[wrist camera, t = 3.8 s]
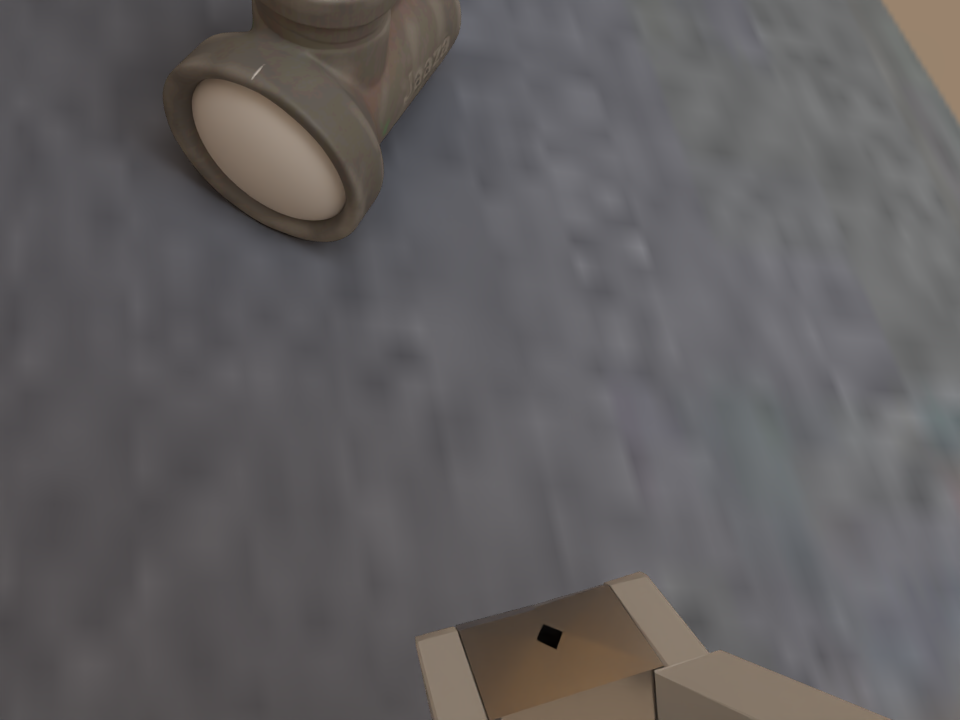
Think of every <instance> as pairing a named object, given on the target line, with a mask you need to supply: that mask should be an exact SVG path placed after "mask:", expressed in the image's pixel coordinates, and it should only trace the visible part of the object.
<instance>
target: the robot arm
mask: <svg viewBox="0 0 960 720" xmlns="http://www.w3.org/2000/svg"><path fill="white" fill-rule="evenodd" d="M415 641H416V648H417V653H418V658H419V662H420V667H421V672H422V676H423V681H424V686H425V690H426V695H427V700H428V704H429V709H430V714H431V718H432V720H891V719H889V718H886V717H884V716H881V715H879V714H876V713H874V712H871V711H869V710H867V709H864V708H862V707H859V706H857V705H854V704H852V703H849V702H847V701H844V700H842V699H840V698H837V697H835V696H832V695H830V694H827V693H825V692H822V691H820V690H817V689H815V688H813V687H810V686H808V685H805V684H803V683H800V682H798V681H795V680H793V679H791V678H788V677H786V676H783V675H781V674H778V673H776V672H773V671H771V670H768V669H766V668H764V667H761V666H759V665H756V664H754V663H751V662H749V661H746V660H744V659H741V658H739V657H737V656H734V655H732V654H729V653H727V652H724V651H722V650H719V651H715V652H712V653H709V652H708V651H707V650H706V648H705V647H704V646H703V645H702V643H701V642H700V641H699V640H698V638H697V637H696V636H695V635H694V633H693V632H692V631H691V630H690V628H689V627H688V626H687V625H686V623H685V622H684V621H683V620H682V618H681V617H680V616H679V615H678V613H677V612H676V611H675V610H674V608H673V607H672V606H671V605H670V603H669V602H668V601H667V600H666V598H665V597H664V596H663V595H662V593H661V592H660V591H659V589H658V588H657V587H656V586H655V584H654V583H653V582H652V581H651V579H650V578H649V577H648V576H647V575H646V574H644V573H642V572H637V573H634V574H630V575H627V576H624V577H621V578H618V579H615V580H611V581H608V582H605V583H604V585H599V586H595V587H592V588H589V589H585V590H582V591H579V592H575V593H572V594H568V595H565V596H562V597H558V598H555V599H552V600H548V601H545V602H541V603H538V604H535V605H530V606H527V607H523V608H519V609H515V610H511V611H508V612H504V613H500V614H496V615H493V616H489V617H485V618H481V619H478V620H474V621H470V622H466V623H462V624H459V625H456V629H455V628H454V627H449V628H446V629H442V630H438V631H435V632H431V633H427V634H424V635H420V636H416V637H415Z"/></svg>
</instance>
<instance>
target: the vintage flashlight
mask: <svg viewBox="0 0 960 720" xmlns="http://www.w3.org/2000/svg"><path fill="white" fill-rule="evenodd" d="M252 14H253V26H252V29H251V30H250V31H247V32H229V33H221V34H217V35H214V36H211V37H209V38H208V39H206V40H205V41H203V42H202V43H201V44H200V45H199V46H198V47H197V48H196V49H194V50H193V51H192V52H191V53H190V54H189V55H188V56H187V57H186V58H185V59H184V60H183V61H182V62H181V63H180V64H179V65H178V66H177V67H176V68H175V69H174V70H173V71H172V72H171V73H170V74H169V76H168V77H167V79H166V82H165V85H164V89H163V104H164V110H165V114H166V117H167V120H168V123H169V126H170V128H171V131H172V133H173V135H174V137H175V139H176V141H177V142H178V144H179V145H180V147H181V148H182V150H183V152H184V153H185V155H186V156H187V158H188V159H189V160H190V162H191V163H192V164H193V165H194V167H195V168H196V169H197V170H198V172H199V173H200V174H201V175H202V176H203V177H204V178H205V179H206V180H207V181H208V183H209V184H211V185H212V186H213V187H214V188H215V189H216V190H217V191H218V192H219V193H220V194H221V195H222V196H223V197H225V198H226V199H227V200H228V201H230V202H231V203H232V204H233V205H235V206H236V207H237V208H239V209H240V210H242V211H243V212H244V213H246V214H247V215H249V216H251V217H252V218H254V219H255V220H257V221H259V222H261V223H262V224H264V225H266V226H268V227H270V228H273V229H275V230H278V231H280V232H283V233H286V234H288V235H291V236H294V237H297V238H301V239H305V240H310V241H318V242H331V241H337V240H340V239H343V238H345V237H347V236H348V235H350V234H351V233H352V232H353V231H354V230H355V228H356V227H357V226H358V224H359V223H360V221H361V220H362V219H363V217H364V216H365V214H366V213H367V211H368V210H369V208H370V207H371V205H372V204H373V202H374V201H375V199H376V198H377V196H378V194H379V192H380V190H381V187H382V183H383V175H384V167H383V158H382V153H381V148H380V143H381V142H382V141H383V139H384V138H385V137H386V135H387V134H388V133H389V131H390V130H391V129H392V127H393V126H394V125H395V123H396V122H397V121H398V119H399V118H400V117H401V115H402V114H403V113H404V111H405V110H406V109H407V107H408V106H409V105H410V103H411V102H412V101H413V99H414V98H415V97H416V95H417V94H418V93H419V91H420V90H421V89H422V87H423V86H424V85H425V83H426V82H427V81H428V79H429V78H430V77H431V75H432V74H433V73H434V71H435V70H436V69H437V67H438V66H439V65H440V63H441V62H442V60H443V59H444V58H445V56H446V55H447V53H448V52H449V50H450V49H451V47H452V46H453V44H454V42H455V40H456V38H457V36H458V34H459V30H460V25H461V9H460V3H459V0H252Z"/></svg>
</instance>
